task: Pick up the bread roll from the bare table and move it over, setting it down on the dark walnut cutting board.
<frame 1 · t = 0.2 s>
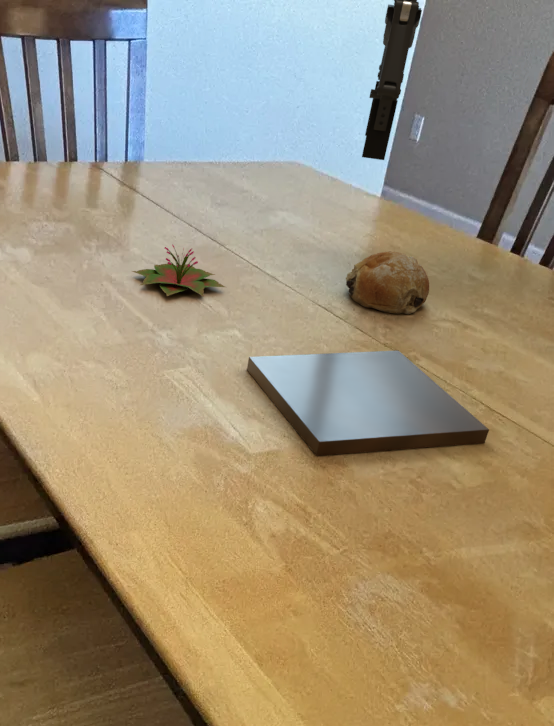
hand: (374, 147, 112), 16 cm above the table, tool pointing down, fingers open, 13 cm apart
cutting board: (359, 404, 89), on the table
bread roll: (382, 301, 114), on the table
lily flower: (177, 285, 113), on the table
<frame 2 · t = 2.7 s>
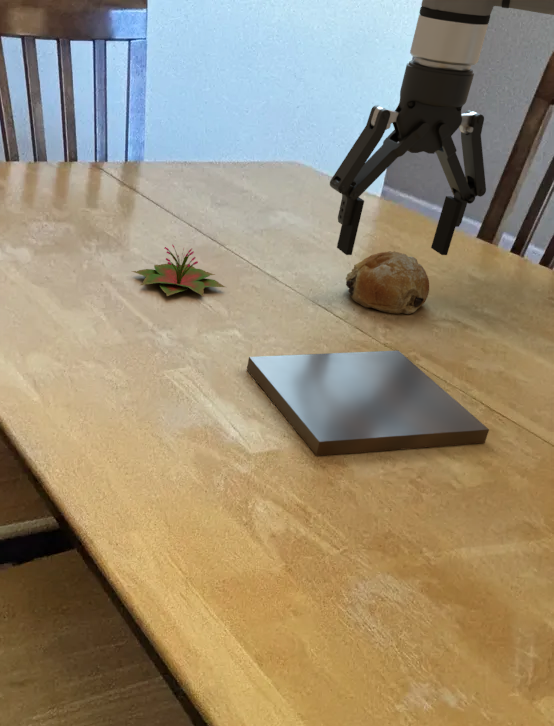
hand: (392, 251, 110), 6 cm above the table, tool pointing down, fingers open, 13 cm apart
nothing on the table moved.
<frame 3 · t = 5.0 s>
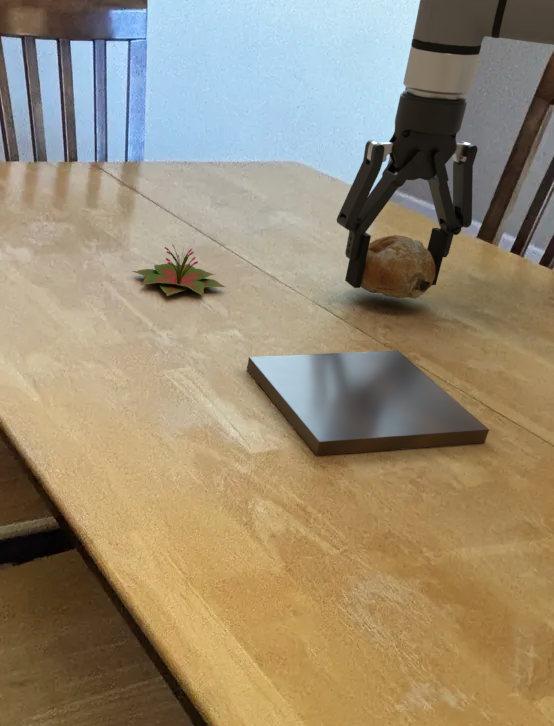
hand: (390, 282, 113), 2 cm above the table, tool pointing down, fingers closed on bread roll, 10 cm apart
bread roll: (387, 286, 113), point 2 cm above the table, touching gripper
everything else where it was.
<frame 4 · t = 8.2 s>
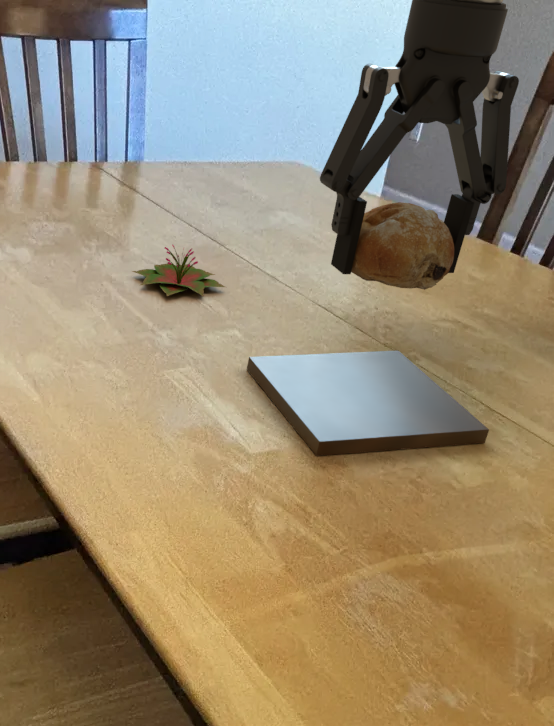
hand: (392, 268, 83), 13 cm above the table, tool pointing down, fingers closed on bread roll, 10 cm apart
bread roll: (388, 273, 83), point 13 cm above the table, touching gripper
everything else where it was.
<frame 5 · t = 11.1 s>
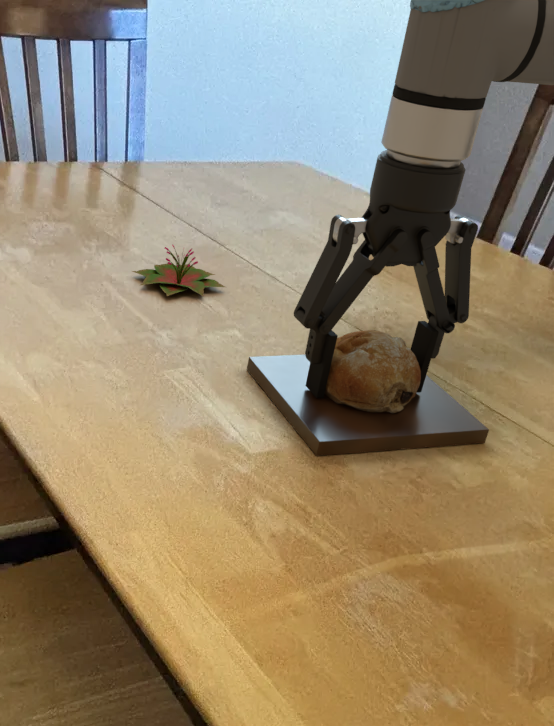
hand: (363, 389, 88), 2 cm above the table, tool pointing down, fingers closed on bread roll, 10 cm apart
bread roll: (359, 393, 88), point 1 cm above the table, touching cutting board, gripper
everything else where it was.
when the fingers open (2 cm above the table, at t = 11.4 s): bread roll stays where it is, resting on cutting board.
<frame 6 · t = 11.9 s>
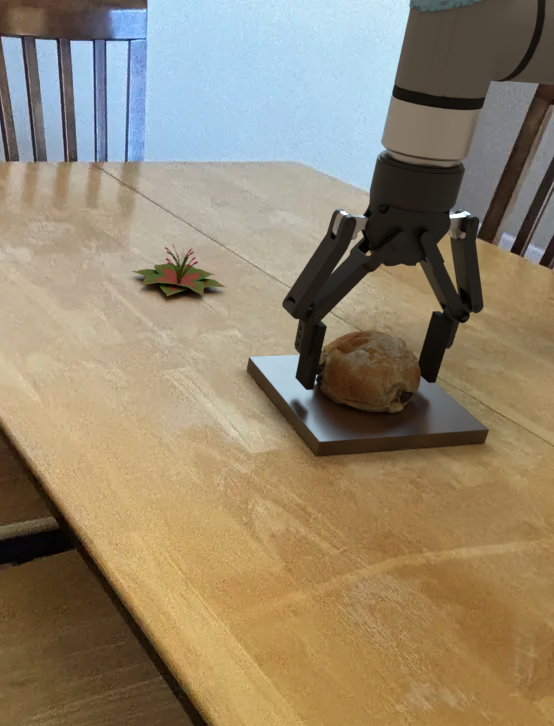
hand: (365, 380, 87), 3 cm above the table, tool pointing down, fingers open, 13 cm apart
bread roll: (359, 393, 88), point 1 cm above the table, touching cutting board
everything else where it was.
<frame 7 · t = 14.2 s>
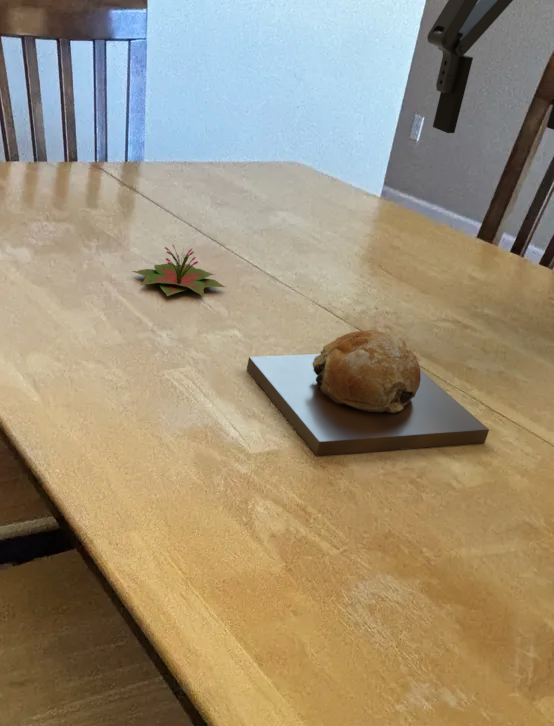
hand: (501, 130, 87), 24 cm above the table, tool pointing down, fingers open, 13 cm apart
nothing on the table moved.
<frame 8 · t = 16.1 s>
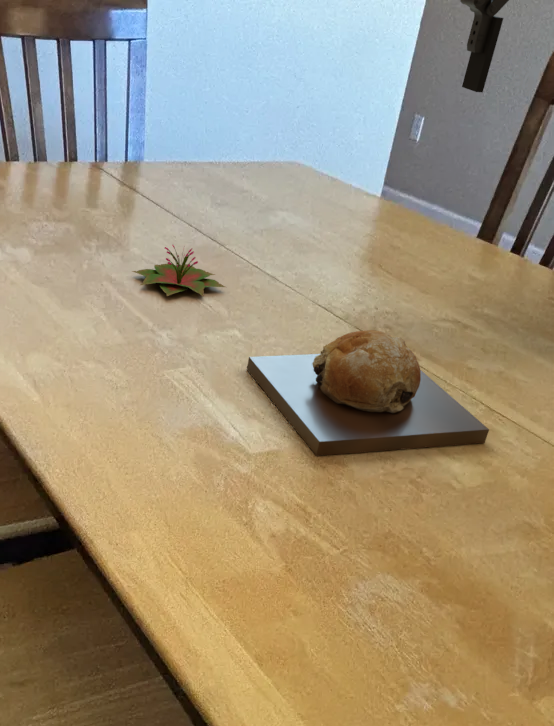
hand: (528, 92, 91), 27 cm above the table, tool pointing down, fingers open, 13 cm apart
nothing on the table moved.
at the end: bread roll inside the target area on the cutting board (0.3 cm from its centre), point 1.3 cm above the cutting board's base; bread roll moved 32.1 cm from its start; the gripper is holding nothing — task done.
